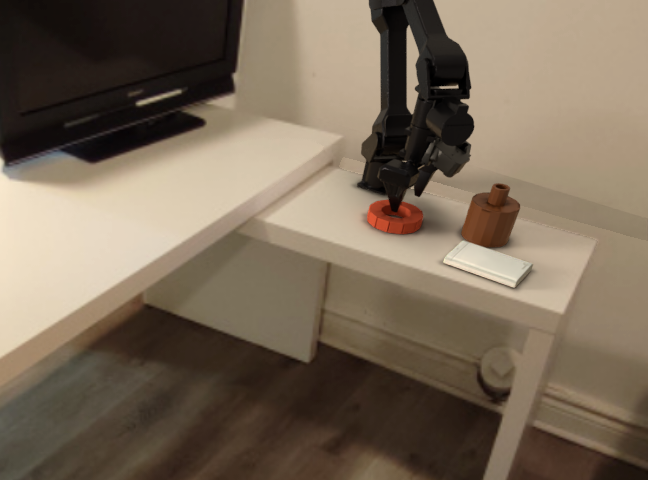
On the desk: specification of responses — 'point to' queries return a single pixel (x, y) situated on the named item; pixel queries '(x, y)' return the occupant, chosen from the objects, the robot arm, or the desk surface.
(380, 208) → the orange faceted ring
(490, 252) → the hard drive
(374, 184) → the robot arm
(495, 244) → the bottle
